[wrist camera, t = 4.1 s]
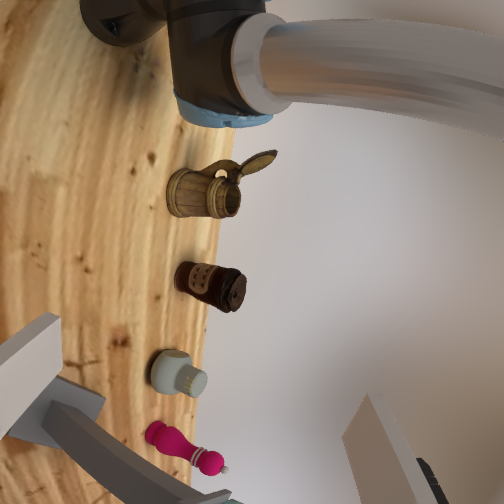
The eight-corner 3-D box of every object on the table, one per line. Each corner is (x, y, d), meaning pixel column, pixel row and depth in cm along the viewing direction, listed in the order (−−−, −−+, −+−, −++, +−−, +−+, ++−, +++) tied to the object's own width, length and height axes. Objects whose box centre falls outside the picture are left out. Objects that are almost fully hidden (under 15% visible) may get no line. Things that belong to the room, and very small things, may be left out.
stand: (2, 427, 27) (147, 570, 15) (31, 362, 32) (192, 487, 21) (73, 446, 39) (207, 540, 28) (99, 393, 45) (241, 476, 33)
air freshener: (180, 347, 66) (218, 363, 62) (172, 380, 65) (208, 398, 61) (148, 349, 56) (189, 369, 52) (140, 387, 55) (179, 409, 51)
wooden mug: (201, 150, 59) (287, 154, 52) (192, 217, 62) (276, 232, 54) (172, 141, 51) (266, 143, 44) (162, 217, 54) (254, 234, 46)
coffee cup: (163, 283, 57) (221, 302, 52) (183, 247, 61) (241, 261, 55) (183, 302, 64) (237, 321, 59) (200, 269, 68) (253, 284, 62)
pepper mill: (151, 447, 60) (223, 487, 52) (139, 437, 56) (216, 482, 48) (166, 425, 65) (238, 462, 57) (156, 414, 61) (233, 454, 53)
